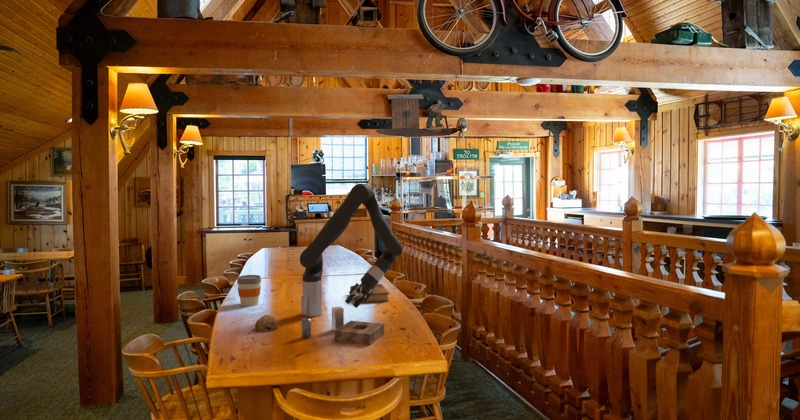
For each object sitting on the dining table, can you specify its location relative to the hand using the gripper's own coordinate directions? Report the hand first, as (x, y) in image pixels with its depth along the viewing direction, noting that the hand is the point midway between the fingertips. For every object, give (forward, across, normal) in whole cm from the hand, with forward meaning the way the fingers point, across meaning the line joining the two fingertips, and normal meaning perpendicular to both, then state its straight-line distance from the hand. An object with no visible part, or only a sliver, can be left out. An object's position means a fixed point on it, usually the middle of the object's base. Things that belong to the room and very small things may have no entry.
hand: (350, 304), depth 236 cm
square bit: (+12, 0, +3) cm, 12 cm away
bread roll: (+31, -20, -16) cm, 40 cm away
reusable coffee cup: (+27, -69, -12) cm, 76 cm away
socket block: (+10, +15, +6) cm, 19 cm away
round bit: (+23, +3, -8) cm, 25 cm away
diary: (-16, -48, +32) cm, 60 cm away
